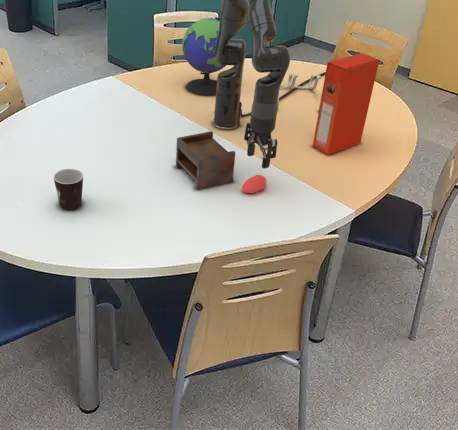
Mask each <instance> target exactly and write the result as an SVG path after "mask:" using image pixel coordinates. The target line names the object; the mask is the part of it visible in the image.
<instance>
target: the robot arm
mask: <svg viewBox="0 0 458 430" xmlns="http://www.w3.org/2000/svg"><path fill="white" fill-rule="evenodd" d="M219 19H220V24H219V33H218V38H217V43H216V49H215V59H216V62H217V63H218V64H221V65H227V66H232V67H231V68H227V69H225V70H223V71H220V72H219V73H218V74H217V77H216V80H217V87H216V96H215V102H214V111H213V114H214V115H213V126H214V127H215V128H217V129H220V130H227V131H230V130H234V129H236V128H238V127H240V124H241V118H244V117H249V116H250V121H249V122H248V123H247V122H246V123H245V130H244V137H243V139H244V141H245V142H246V144H247V152H246V155H247V157H253V156H255V151H256V150H255V149H256V144H257V146H258V147H259V151H260V152H261V153H262V156H263V157H262V162H261V168H262V169H263V170H265V169H268V168H270V166H271V165H270V164H271V160H272V159H275V158H276V157H277V151H278V150H277V149H278V139H277V138H275V139H274V138H272V133H273V132H274V130H276V123H277V116H278V110H279V105H278V98H279V101H281V100H282V99H283V98H285V97H286V96H288V95H289V94H291V93H292V92H294V91H295V90H297V89H298V88H292V89H291V90H289V91H287V92H286V93H284V94H283V95H281V96H280V89H281V87H280V86H281V85H282V84H283V81H284V78H285V76H286V74H287V71H288V69H289V67H290V64H291V54H290V50H289V49H288V47H286V46H285V45H269V46H268V45H267V44H270V43H272V42H273V41H275V40H276V38H277V35H278V31H277V27H276V23H275V20H274V16H273V12H272V8H271V2H270V0H250V2H249V0H221V3H220V13H219ZM247 23H248V27H249V31H250V35H251V46H252V47H251V48H252V49H251V64H252V65H251V66H252V67H253V69H254V70H255V71H256V72H258V73H261V74H264V73H265V74H266V73H267V75H265V76H262V77H260V78H258V79H257V80H256V81H255V85H254V93H253V100H252V104H251V112H249V113H247V114H243V109H242V107H243V103H242V102H241V95H242V84H243V83H242V82H243V75H244V74H243V73H244V66H245V59H246V55H247V54H246V53H247V43H246V41H245V40H244V39H242V38H241V39H240V38H234V39H231V38H232V37H233V36H234V37H235V36H236V35H237V34H238V33H240V32H241V31H242V30H243V29H244V28H245V26H246V25H247ZM266 45H267V46H266ZM268 73H269V74H268ZM325 74H326V71H325V72H322V73H319V74H318V75H320V76H321V77H322V76H325ZM316 77H317V75H315V77H314V79H313V80H316ZM307 83H310V78H309V79H307V80H305V81H303V82H301V83H299V84H298V85H297V86H300V87H303V86H304V85H305V84H307ZM277 109H278V110H277Z"/></svg>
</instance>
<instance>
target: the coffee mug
mask: <svg viewBox="0 0 458 430" xmlns="http://www.w3.org/2000/svg"><path fill="white" fill-rule="evenodd" d="M53 181H54V186H55V190H56V194H57V198H58V203H59V207H60V208H61V209H62V210H63V211H64V210H65V211H69V212H70V211H75V210H79V209H80V208H81V207H82V200H83V185H84V174H83V172H82V171H81V170H78V169H76V168H64V169H60V170H58V171H57V172H55V173H54V174H53Z"/></svg>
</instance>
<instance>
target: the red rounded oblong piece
mask: <svg viewBox="0 0 458 430" xmlns="http://www.w3.org/2000/svg"><path fill="white" fill-rule="evenodd" d="M266 186H267V178H266V176H264V175H262V174H256V175H253V176H251V177H249V178H248V179H247V180H246V181H244V183H243V184H242V187H241V190H242V191H243V193H246V194H253V193H257V192H259V191H262V190H263V189H264V188H265V187H266Z"/></svg>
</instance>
